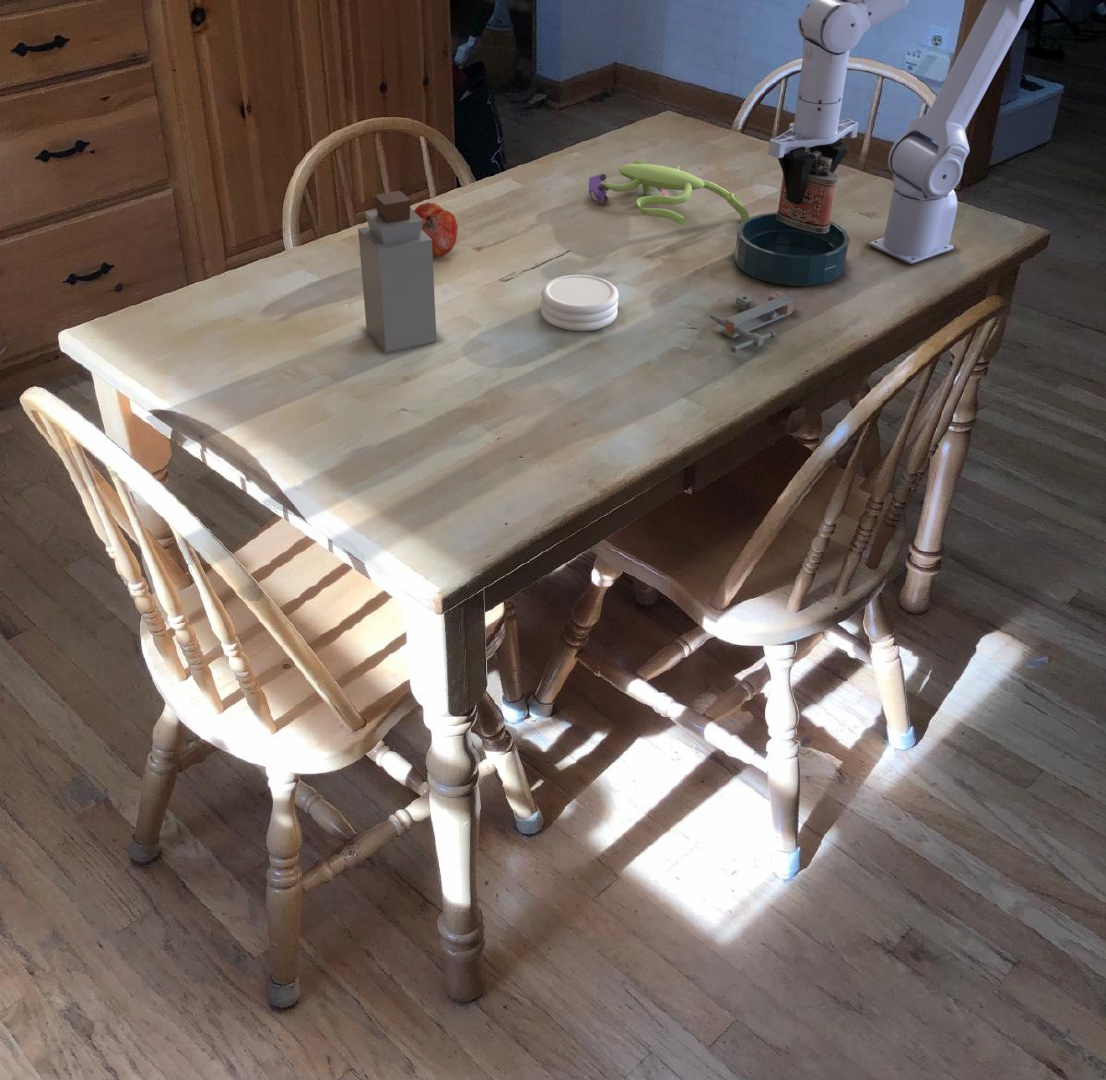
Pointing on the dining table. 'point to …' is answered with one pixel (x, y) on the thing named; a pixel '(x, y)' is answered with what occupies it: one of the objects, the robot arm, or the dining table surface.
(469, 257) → the dining table surface
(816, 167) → the lighter
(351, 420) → the dining table surface
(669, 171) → the figurine
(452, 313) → the dining table surface
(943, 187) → the robot arm
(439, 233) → the pomegranate
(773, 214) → the bowl
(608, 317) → the coaster
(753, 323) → the clamp
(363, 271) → the perfume bottle
